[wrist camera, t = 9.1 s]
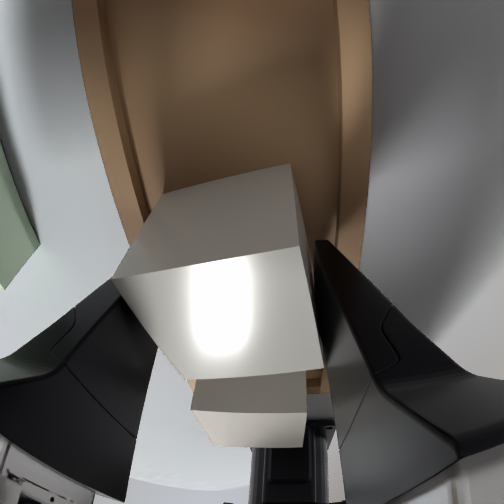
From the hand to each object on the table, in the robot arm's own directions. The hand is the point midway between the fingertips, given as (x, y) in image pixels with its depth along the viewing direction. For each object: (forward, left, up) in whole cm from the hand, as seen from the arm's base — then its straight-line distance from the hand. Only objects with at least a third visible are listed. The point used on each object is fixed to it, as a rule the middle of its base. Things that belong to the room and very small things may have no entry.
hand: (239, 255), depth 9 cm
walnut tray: (0, 0, -2) cm, 2 cm away
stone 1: (-6, 0, -1) cm, 7 cm away
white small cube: (0, 0, -1) cm, 1 cm away
